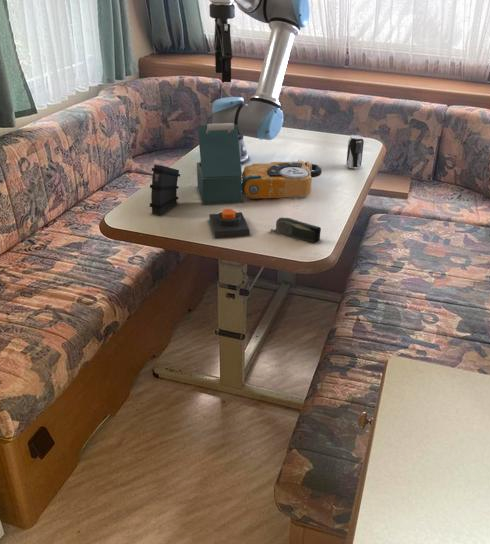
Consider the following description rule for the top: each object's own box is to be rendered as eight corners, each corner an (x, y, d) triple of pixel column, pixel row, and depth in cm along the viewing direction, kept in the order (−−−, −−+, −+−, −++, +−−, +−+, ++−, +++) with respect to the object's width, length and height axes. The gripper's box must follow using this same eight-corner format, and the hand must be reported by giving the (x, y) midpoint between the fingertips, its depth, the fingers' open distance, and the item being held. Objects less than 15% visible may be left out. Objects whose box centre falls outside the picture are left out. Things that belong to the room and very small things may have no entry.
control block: (209, 220, 176) (209, 208, 174) (241, 218, 178) (241, 206, 176) (215, 238, 166) (214, 225, 164) (249, 235, 168) (249, 223, 166)
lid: (197, 126, 182) (199, 118, 174) (236, 125, 185) (240, 117, 177) (202, 178, 182) (204, 172, 174) (241, 176, 185) (245, 170, 176)
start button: (221, 214, 171) (220, 209, 170) (234, 213, 172) (234, 208, 171) (223, 220, 168) (223, 214, 167) (236, 219, 169) (236, 214, 168)
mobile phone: (322, 225, 165) (274, 213, 170) (318, 229, 163) (270, 217, 167) (320, 240, 167) (274, 228, 172) (316, 245, 165) (269, 232, 170)
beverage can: (348, 163, 225) (351, 133, 219) (362, 165, 224) (365, 135, 218) (344, 168, 221) (347, 137, 215) (359, 170, 219) (362, 139, 213)
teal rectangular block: (197, 186, 199) (196, 162, 194) (233, 184, 202) (233, 160, 197) (203, 204, 186) (202, 179, 181) (241, 202, 189) (241, 177, 184)
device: (236, 155, 204) (319, 153, 208) (236, 177, 208) (317, 175, 213) (242, 178, 185) (333, 176, 189) (242, 202, 189) (331, 199, 193)
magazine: (144, 213, 175) (152, 164, 173) (165, 215, 187) (173, 169, 186) (155, 215, 174) (163, 165, 172) (175, 217, 186) (183, 171, 185)
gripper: (203, -1, 181) (206, 69, 191) (215, 8, 160) (217, 86, 171) (227, -1, 182) (228, 69, 193) (242, 8, 162) (242, 85, 172)
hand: (223, 77), depth 182 cm, fingers open, 13 cm apart
